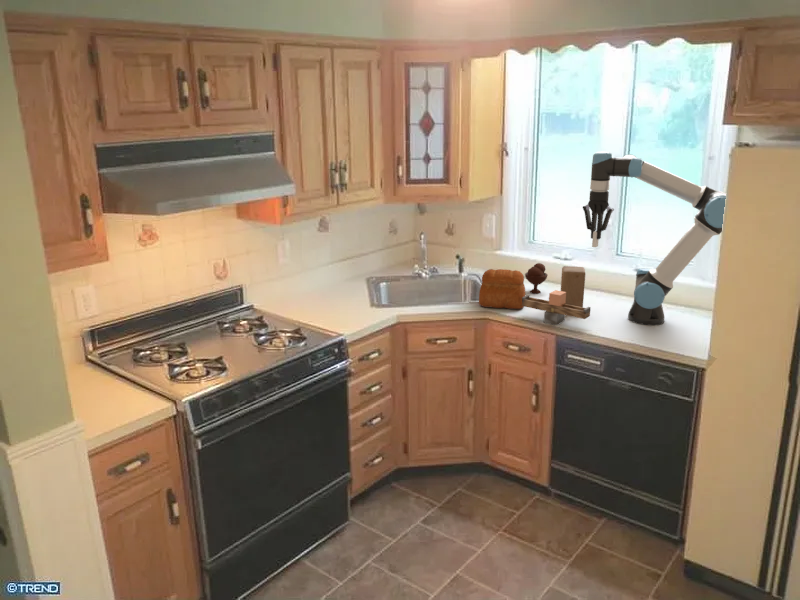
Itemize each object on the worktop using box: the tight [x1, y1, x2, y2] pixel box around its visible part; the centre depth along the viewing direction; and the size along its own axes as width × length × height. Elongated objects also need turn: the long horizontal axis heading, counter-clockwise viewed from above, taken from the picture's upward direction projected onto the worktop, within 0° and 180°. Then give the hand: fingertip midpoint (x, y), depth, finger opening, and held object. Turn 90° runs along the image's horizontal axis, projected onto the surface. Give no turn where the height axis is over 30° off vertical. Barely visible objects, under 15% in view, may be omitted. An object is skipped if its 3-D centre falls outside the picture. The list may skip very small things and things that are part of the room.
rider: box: [548, 289, 566, 306], centre depth 297 cm, size 5×6×6 cm
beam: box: [522, 294, 591, 326], centre depth 299 cm, size 30×8×9 cm, turn 52°
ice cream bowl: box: [524, 262, 548, 295], centre depth 342 cm, size 11×11×15 cm
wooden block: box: [560, 265, 586, 308], centre depth 313 cm, size 10×10×20 cm
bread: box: [478, 268, 526, 310], centre depth 323 cm, size 18×21×17 cm
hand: (595, 246), depth 288 cm, fingers closed
